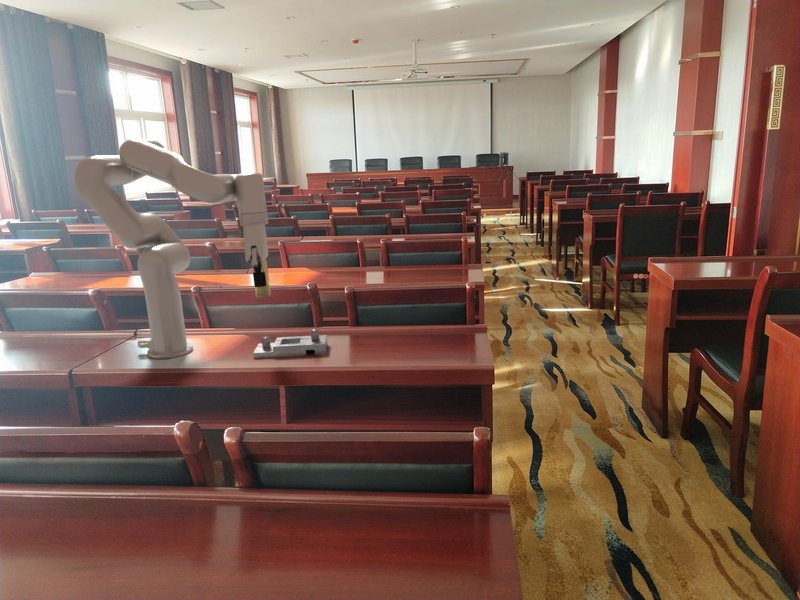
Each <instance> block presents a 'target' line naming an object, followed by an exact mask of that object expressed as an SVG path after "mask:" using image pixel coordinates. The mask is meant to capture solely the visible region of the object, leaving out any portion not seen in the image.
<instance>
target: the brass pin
mask: <svg viewBox="0 0 800 600" xmlns="http://www.w3.org/2000/svg"><path fill="white" fill-rule="evenodd" d="M258 261H261V259H260V260H258ZM258 264H260V263H258ZM263 269H264V272H265V276H266V286H265V287H255V286H254V290H255V297H256V298H266V297H270V296H271V287H270V285H271V284H270V277H268V276H269V268H268V263H267V258H266V259H265V260H263Z"/></svg>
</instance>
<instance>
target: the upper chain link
mask: <svg viewBox="0 0 800 600" xmlns="http://www.w3.org/2000/svg"><path fill="white" fill-rule="evenodd" d="M309 331H310V335H302V336H301V335H299V336H281V337H276V339H275V341H274V342H273V343H274V345H273V352H280V351H298V350H307V351H311V350H312V351H314V355H326V354H327V348H328V336H327V334H322V335H321V334H320V329H319V328H312V329H310V330H309ZM289 343H299V344H289Z"/></svg>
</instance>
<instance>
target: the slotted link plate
mask: <svg viewBox="0 0 800 600" xmlns="http://www.w3.org/2000/svg"><path fill="white" fill-rule="evenodd" d="M274 343H275V342H271V337H270V336H268V335H265V336H262V337H261V343H258V344H257V346H256V348H255V349H254V351H253V359H261V358H279V357H281V358H282V357H294V356H307V353H308V350H298V351H280V352H273V345H274ZM289 344H299V343H289Z"/></svg>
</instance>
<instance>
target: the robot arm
mask: <svg viewBox="0 0 800 600" xmlns="http://www.w3.org/2000/svg"><path fill="white" fill-rule="evenodd" d="M146 176H149V177H151V178H153V179H155V180H157V181H161V182H163V183H164V184H165V183H166V184H168V185H170V186H171V187H172V188H174V189H175V190H177V191H179V192H180V193H181V194H184V195H185V196H188V197H191V198H194V199H196V200H197V201H201V202H203V203H207V204H212V205H213V204H214V205H216V204H223V203H229V202H235V201H236V202H237V210H238V216H239V223H240V227H243V233H242V234H243V245H244V246H243V247H244V258H245V262H247V263H250V262H251V268H252V276H253V286H254V288H255V287H265V286H266V276H265V272H264V269H263V260H265V259H266V260H267V258H268V257H269V246H268V245H269V244H268V237H267V231H266V225H268V224H269V216H268V215H269V214H268V209H267V206H268V205H267V199H266V191H265V183H264V177H263V174H261V173H259V172H248V173H247V172H244V173H238V174H231V173H230V174H229V173H221V174H211V173H208V172H205V171H202V170H200V169H198V168H195V167H193V166H191V165H189V164H187V163H186V160H185V158H184V156H182V155H181V154H179V153H176V152H174V151H171V150H168V149H166V148H165V147H164V145H163V144H161V143H160V142H159V141H157V140H155V139H152V138H151V139H150V138H129V139H127V140H126V141H124V142H123V143H122V144H121V145H120V147H119V150H118V154H116V155H115V154H114V155H113V154H112V155H111V154H110V155H107V154H99V155H98V154H97V155H91V156H87V157H85V158H83V159H81V160H80V162H78V164H77V166H76V168H75V171H74V184H75V186H76V187H75V188H76V190H77V192H78V193H79V196H80V197H81V199H82V200H83V201H84V202H85V203H86V204H87V205H88V207H90V208H91V210H93V211H94V213H95V214H96V215H97V216H98V217H99V219H101V221H102V222H103V223H104V225H105V226H107V228H108V229H109V230H110V232H112V234H113V235H114V237H115V238H116V239H117V240H118V241H119V242H120V243H121V244H122V245H123V246H124V247H126V248H128V249H130V250H137V249H141V248H145V247H146V248H145V249H144V250H142V252H141V253H140V254H139V255H138V259H137V270H138V273H139V276H140V279H141V282H142V285H143V290H144V291H143V292H144V298H145V303H146V310H147V317H148V325H149V332H150V338H148V339H139V340H137V346H138V348H139V349H145V348H146V349H148V350H147V357H149V358H152V359H156V360H157V359H158V360H160V359H161V360H162V359H163V360H164V359H173V358H177V357H182V356H185V355H187V354H189V353H192V351H193V350H194V345H193V344H192V343H189V342H187V335H186V327H185V317H184V310H183V309H184V308H183V302H182V296H181V295H182V294H181V290H180V285H179V283H178V281H177V279H176V276H175V275H177V274H180V273H182V272H184V271H185V270H186V269H187V268H189V266H190V263H191V253H190V250H189V249H188V247H187V245H185V243H184V242H183V241H182V239H181V238H180V237H179V236H178V235H177V233H176V232H175V231H174V230H173V229H172V227H170V225H169V224H168V223H167V222H166V221H165V220H164V219H163V218H162V217H160V216H159V215H158V214H155V213H152V212H143V213H139V212H138V211H136V210H135V208H133V207H132V206H131V205H130V203H129V202H128V200H127V199H125V198H124V196H122V195H121V194H119V193H118V192H116V190H114V189H113V188H112V187H115V186H116V187H117V186H125V185H128V184H131V183H133V182H135V181H137V180H139V179H141V178H143V177H146ZM260 259H261V261H258V260H260ZM258 263H260V264H258ZM268 277H269V275H268ZM269 278H270V277H269Z"/></svg>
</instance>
